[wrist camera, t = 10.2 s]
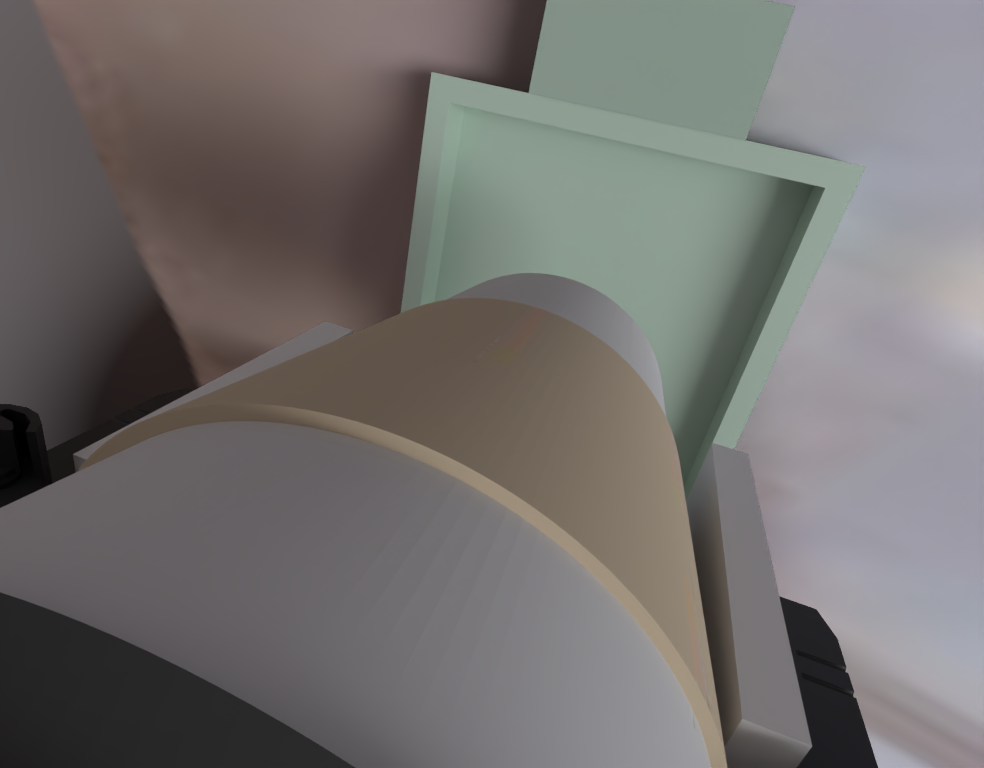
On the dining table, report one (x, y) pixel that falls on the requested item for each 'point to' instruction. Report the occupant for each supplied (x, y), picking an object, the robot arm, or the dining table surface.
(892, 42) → the dining table surface
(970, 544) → the dining table surface
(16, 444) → the robot arm
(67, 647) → the coffee cup
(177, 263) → the dining table surface
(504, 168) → the tray
